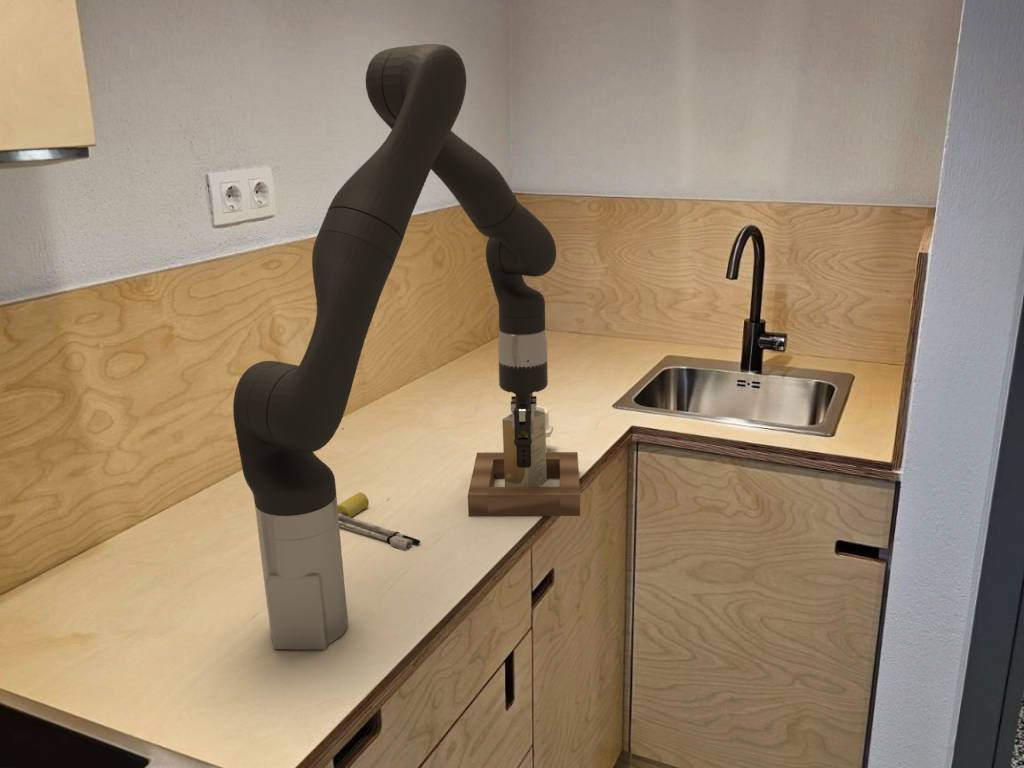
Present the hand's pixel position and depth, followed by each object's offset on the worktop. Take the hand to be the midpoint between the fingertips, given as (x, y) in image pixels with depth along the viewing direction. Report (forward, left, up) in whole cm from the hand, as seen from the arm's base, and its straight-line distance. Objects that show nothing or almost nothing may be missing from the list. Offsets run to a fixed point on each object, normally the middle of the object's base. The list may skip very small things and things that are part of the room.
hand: (524, 456), depth 142 cm
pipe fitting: (+17, -1, -6) cm, 18 cm away
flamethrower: (-10, +27, -7) cm, 29 cm away
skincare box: (0, 0, -5) cm, 5 cm away
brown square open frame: (0, 0, -6) cm, 6 cm away
